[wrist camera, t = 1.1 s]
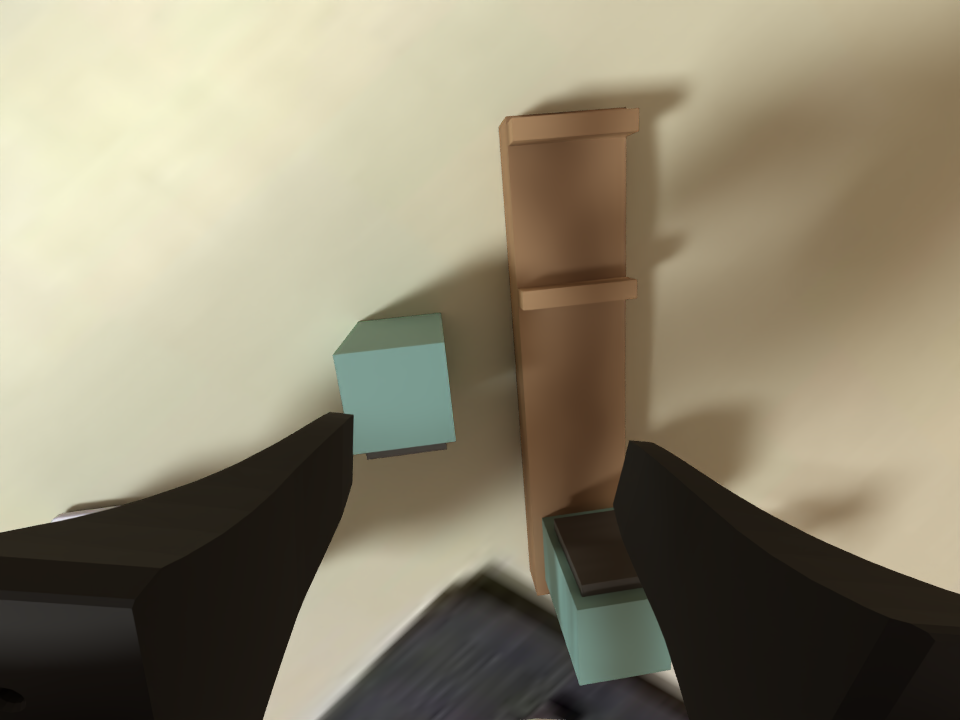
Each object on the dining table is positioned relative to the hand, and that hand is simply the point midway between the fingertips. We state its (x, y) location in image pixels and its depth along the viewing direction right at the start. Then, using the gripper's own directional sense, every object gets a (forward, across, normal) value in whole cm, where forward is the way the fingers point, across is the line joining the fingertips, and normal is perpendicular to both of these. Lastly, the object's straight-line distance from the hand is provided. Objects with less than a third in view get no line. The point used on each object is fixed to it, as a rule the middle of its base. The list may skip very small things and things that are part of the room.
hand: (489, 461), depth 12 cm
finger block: (+11, +4, +2) cm, 12 cm away
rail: (+12, -5, +2) cm, 13 cm away
